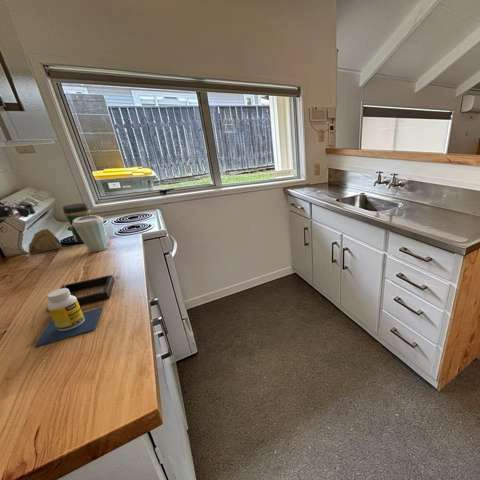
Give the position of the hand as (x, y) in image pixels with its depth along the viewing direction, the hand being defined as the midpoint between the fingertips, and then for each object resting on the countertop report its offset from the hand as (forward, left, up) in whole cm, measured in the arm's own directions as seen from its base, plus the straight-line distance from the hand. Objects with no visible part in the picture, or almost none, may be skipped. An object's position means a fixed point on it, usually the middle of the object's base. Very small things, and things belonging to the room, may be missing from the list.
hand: (0, 217), depth 63 cm
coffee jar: (-3, +72, -28) cm, 77 cm away
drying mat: (+8, -12, -28) cm, 32 cm away
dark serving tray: (+8, +5, -28) cm, 30 cm away
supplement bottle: (+8, -12, -28) cm, 32 cm away
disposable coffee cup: (+4, +52, -28) cm, 60 cm away
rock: (-17, +66, -28) cm, 73 cm away
